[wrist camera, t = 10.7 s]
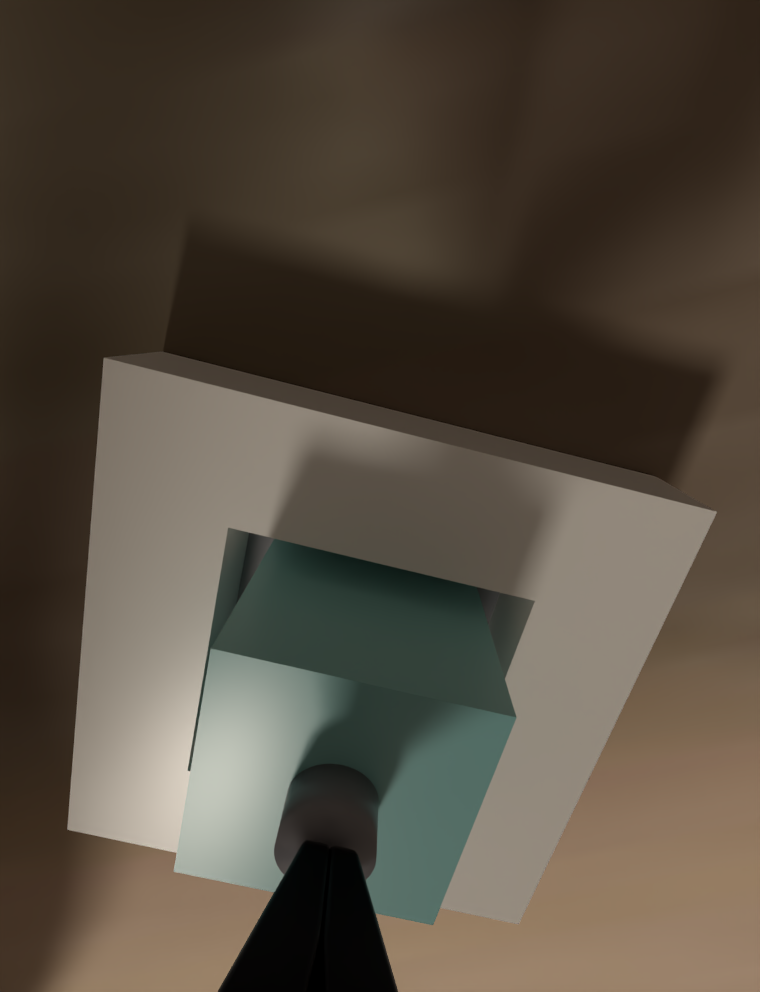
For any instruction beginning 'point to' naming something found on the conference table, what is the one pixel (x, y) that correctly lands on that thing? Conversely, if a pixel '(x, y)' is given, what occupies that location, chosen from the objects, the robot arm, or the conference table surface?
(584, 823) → the conference table surface
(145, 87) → the conference table surface
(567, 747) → the socket plate
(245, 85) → the conference table surface
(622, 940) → the conference table surface
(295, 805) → the plug
